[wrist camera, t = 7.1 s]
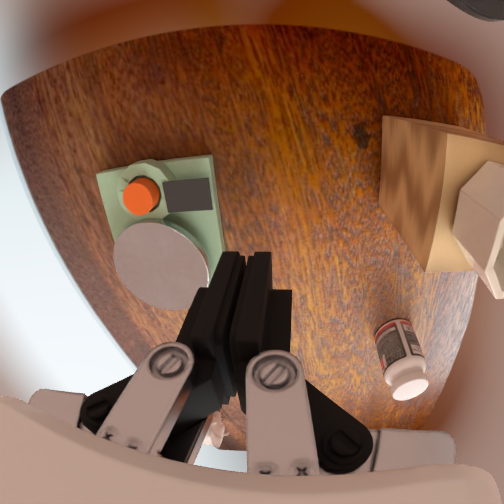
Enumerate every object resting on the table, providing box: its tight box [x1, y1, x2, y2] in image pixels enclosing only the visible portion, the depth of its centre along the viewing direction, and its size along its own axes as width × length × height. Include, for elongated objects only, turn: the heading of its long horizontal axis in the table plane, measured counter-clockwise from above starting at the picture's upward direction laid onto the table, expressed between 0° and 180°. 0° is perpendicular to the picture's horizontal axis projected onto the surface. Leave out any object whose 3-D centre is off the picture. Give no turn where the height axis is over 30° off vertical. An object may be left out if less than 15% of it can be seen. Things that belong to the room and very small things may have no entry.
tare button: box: [123, 177, 160, 215], centre depth 25 cm, size 3×3×2 cm
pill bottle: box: [375, 319, 428, 400], centre depth 31 cm, size 6×6×10 cm
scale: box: [96, 154, 225, 287], centre depth 29 cm, size 16×13×3 cm
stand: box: [378, 115, 504, 273], centre depth 18 cm, size 9×9×12 cm
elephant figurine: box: [202, 411, 229, 447], centre depth 48 cm, size 10×12×9 cm
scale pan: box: [113, 178, 213, 310], centre depth 28 cm, size 14×12×1 cm
